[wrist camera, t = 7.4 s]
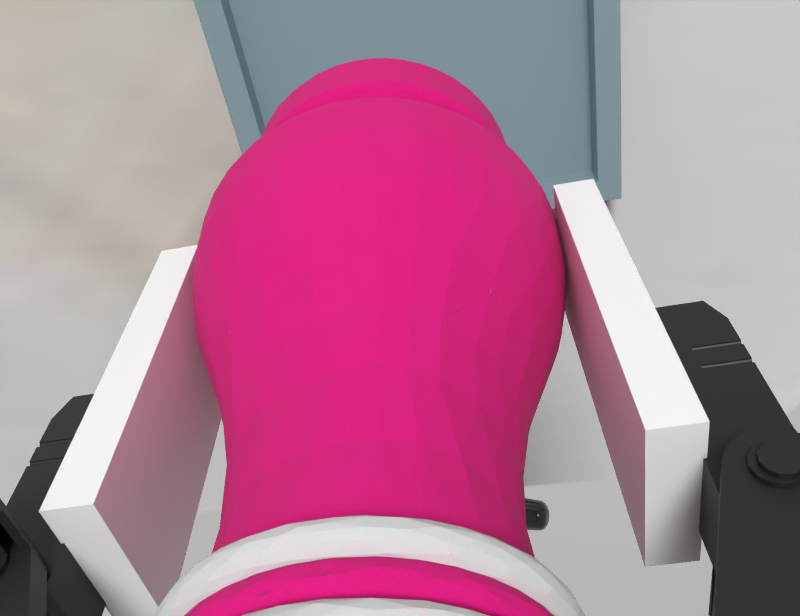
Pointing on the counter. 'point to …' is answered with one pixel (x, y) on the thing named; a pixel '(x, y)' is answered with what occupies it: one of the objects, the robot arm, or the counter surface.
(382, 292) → the pepper mill
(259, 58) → the tray
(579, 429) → the counter surface
